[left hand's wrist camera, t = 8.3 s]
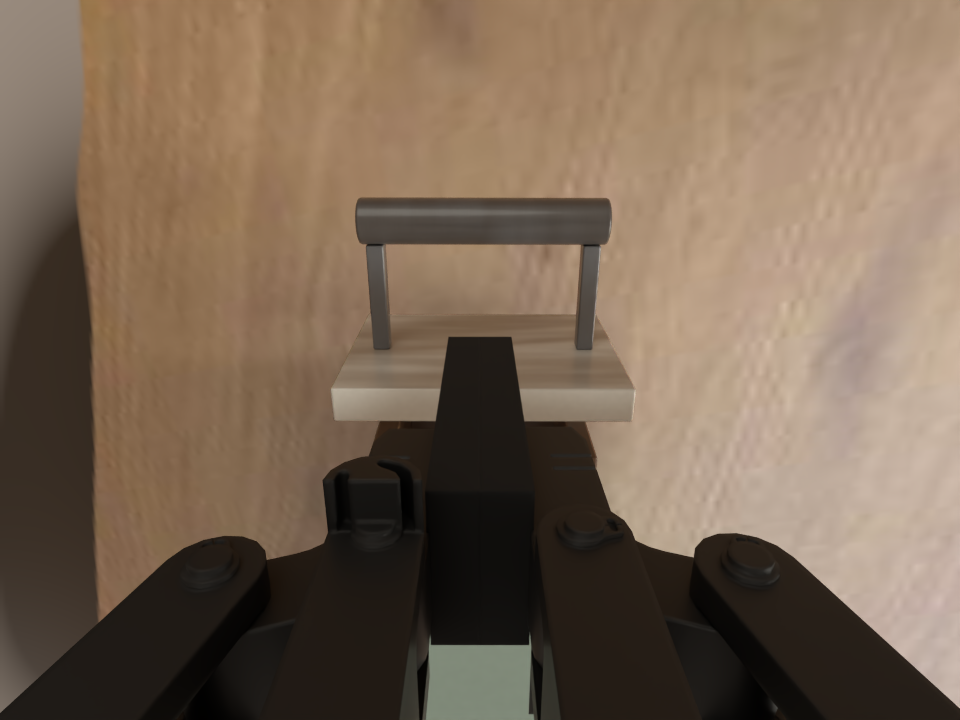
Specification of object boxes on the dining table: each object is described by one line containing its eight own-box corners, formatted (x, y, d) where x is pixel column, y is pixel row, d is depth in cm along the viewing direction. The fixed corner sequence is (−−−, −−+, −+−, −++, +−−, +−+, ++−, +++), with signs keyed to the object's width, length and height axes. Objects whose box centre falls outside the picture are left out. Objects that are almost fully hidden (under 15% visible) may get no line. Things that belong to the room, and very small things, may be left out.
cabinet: (372, 474, 30) (330, 621, 22) (591, 474, 30) (634, 621, 22) (395, 754, 39) (372, 937, 30) (566, 754, 39) (589, 938, 30)
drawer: (358, 182, 24) (310, 217, 17) (608, 183, 24) (657, 218, 17) (394, 653, 34) (373, 788, 27) (568, 654, 34) (589, 789, 27)
